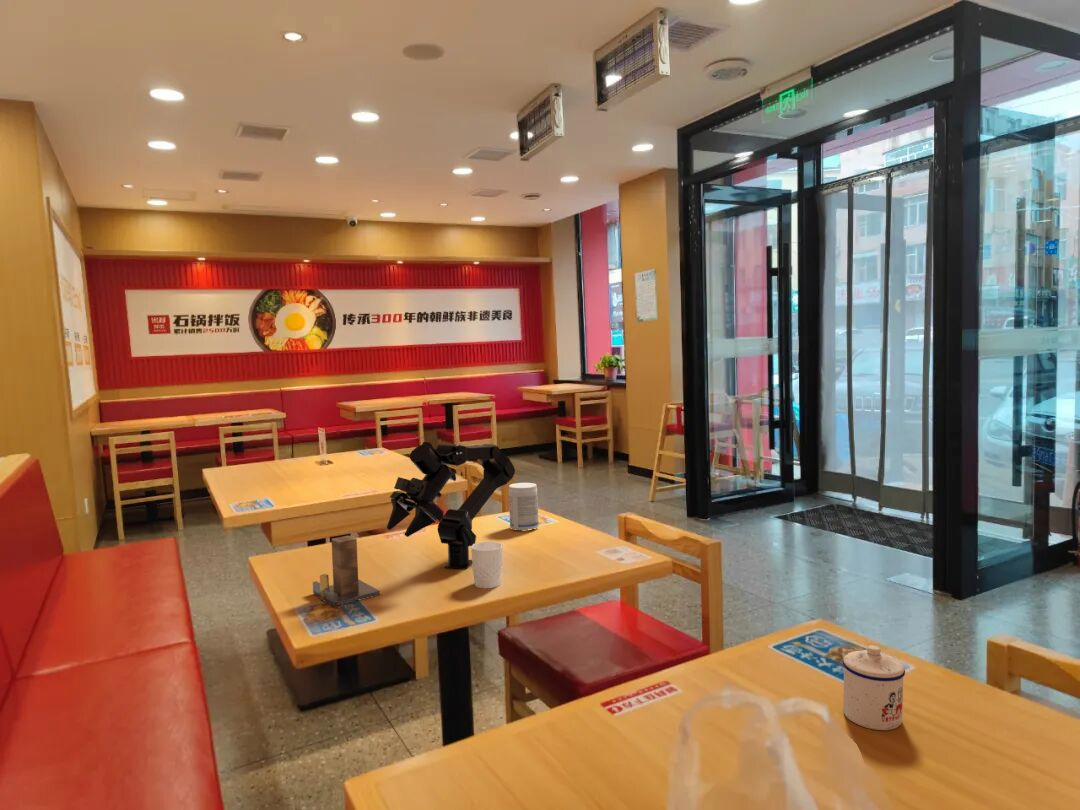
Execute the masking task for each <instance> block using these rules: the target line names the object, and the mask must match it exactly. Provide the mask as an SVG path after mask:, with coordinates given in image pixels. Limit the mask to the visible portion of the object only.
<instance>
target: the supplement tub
mask: <svg viewBox="0 0 1080 810" xmlns="http://www.w3.org/2000/svg"><path fill="white" fill-rule="evenodd" d="M537 485H538V484H536V483H533V482H516V483H511V484H510V485H509V486H508V507H509V510H508V511H509V528H510V529H511V528H512V529H516V530H528V529H534V528H537V527H538V528H539V525H540V523H539V499H538V487H537ZM538 528H537V529H538ZM512 529H511V530H512Z"/></svg>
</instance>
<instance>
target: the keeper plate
mask: <svg viewBox="0 0 1080 810" xmlns="http://www.w3.org/2000/svg"><path fill="white" fill-rule="evenodd" d="M358 586H359V590H358V591H355V592H351V593H347V594H343V595H341V594H339V593H338V592H336V591H334V586H333V584H332V585H330V582H329V574H328V573H327V574H325V573H323V574H321V575H319V581H312V594H313V593H314V594H315V595H314V594H313V595H314V596H316V595H317V596H319V597H320V598H319V597H318V598H319V599H320V601H321V600H325V601H327V602H328V603H330V604H331V605H330V604H329V605H330V606H332V605H333V606H335V607H338V606H337V605H339V606H341V605H340V604H343V605H345V604H344V603H346V604H348V603H347V602H350V603H352V602H351V601H354V602H356V601H355V600H358V601H360V600H359V599H362V600H364V599H363V598H365V599H368V598H367V597H369V598H372V597H371V596H373V597H376V596H375V595H377V596H380V595H379V594H381V592H380V590H379V589H377V588H375V587H374V586H372V585H370V584H368V583H366V582H364V581H363V580H360V579H359V578H358ZM317 596H316V597H317ZM325 601H324V602H325ZM327 602H326V603H327ZM328 603H327V604H328ZM333 606H332V607H333Z"/></svg>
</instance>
